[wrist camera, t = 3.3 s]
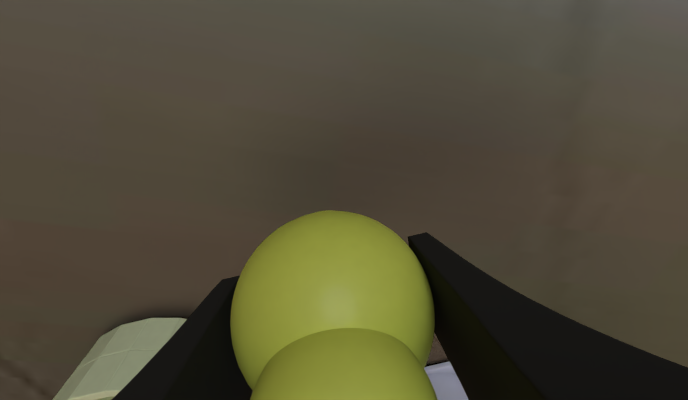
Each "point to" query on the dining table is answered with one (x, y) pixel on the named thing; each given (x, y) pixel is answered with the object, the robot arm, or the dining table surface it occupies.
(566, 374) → the robot arm
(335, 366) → the pear
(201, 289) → the dining table surface
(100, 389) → the bowl
